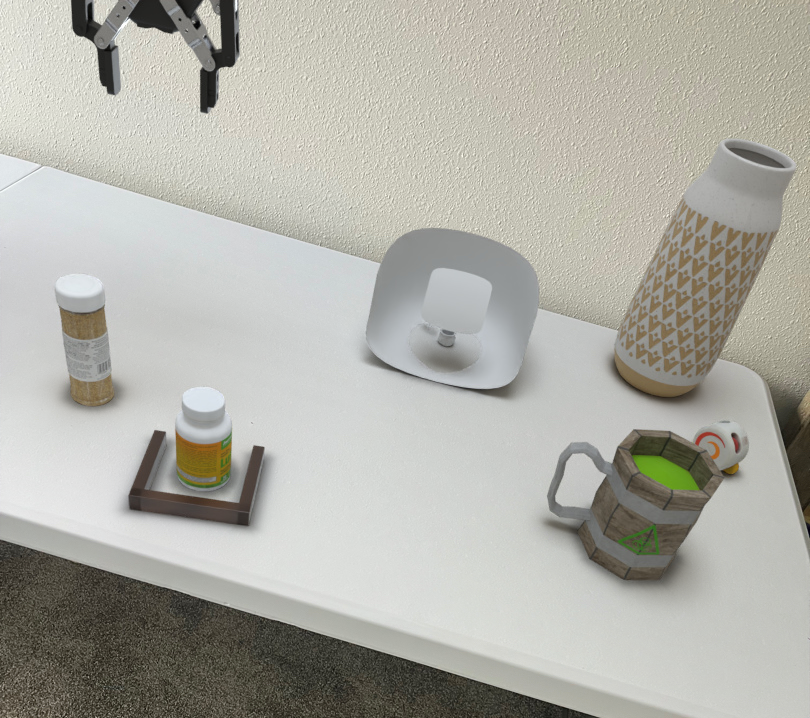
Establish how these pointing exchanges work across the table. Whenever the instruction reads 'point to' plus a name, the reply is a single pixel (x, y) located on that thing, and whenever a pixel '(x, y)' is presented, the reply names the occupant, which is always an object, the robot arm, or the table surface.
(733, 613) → the table surface
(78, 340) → the sprinkles bottle
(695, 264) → the vase
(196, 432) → the supplement bottle
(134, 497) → the frame
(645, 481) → the mug
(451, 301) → the rounded square lampshade
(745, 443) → the roller toy
